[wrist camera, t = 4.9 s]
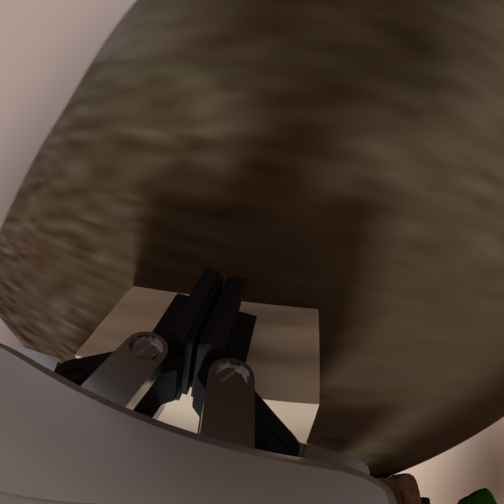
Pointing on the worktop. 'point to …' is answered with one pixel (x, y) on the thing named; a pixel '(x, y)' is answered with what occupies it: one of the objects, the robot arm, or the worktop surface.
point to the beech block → (259, 360)
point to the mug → (425, 500)
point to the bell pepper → (479, 498)
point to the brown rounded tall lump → (403, 488)
